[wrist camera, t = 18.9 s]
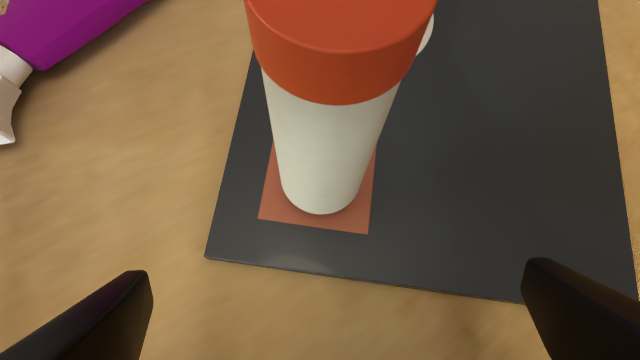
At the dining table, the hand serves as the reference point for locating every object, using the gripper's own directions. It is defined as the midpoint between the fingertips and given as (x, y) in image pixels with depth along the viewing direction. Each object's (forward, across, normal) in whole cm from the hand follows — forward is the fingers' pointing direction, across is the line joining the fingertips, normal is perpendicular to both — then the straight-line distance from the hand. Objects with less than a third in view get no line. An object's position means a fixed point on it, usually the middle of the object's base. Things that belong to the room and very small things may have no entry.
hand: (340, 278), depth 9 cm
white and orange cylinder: (+9, 0, +2) cm, 9 cm away
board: (+13, -6, -1) cm, 14 cm away
